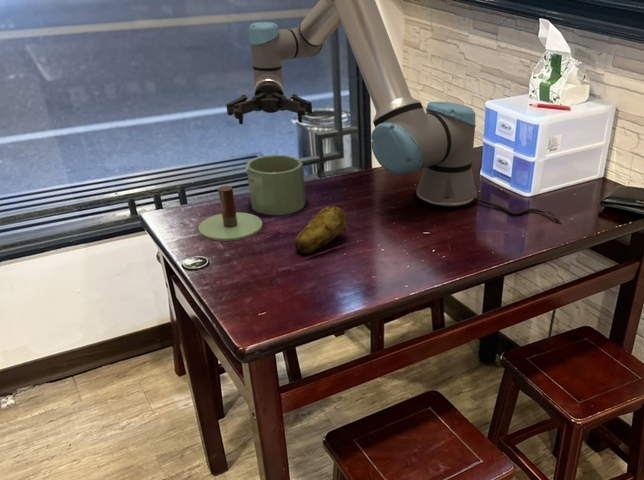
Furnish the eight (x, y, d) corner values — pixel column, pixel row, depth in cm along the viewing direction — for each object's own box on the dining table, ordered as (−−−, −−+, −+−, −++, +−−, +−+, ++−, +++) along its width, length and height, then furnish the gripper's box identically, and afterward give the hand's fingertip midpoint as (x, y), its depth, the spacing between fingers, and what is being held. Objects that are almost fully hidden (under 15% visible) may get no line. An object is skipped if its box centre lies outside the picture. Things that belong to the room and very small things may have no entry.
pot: (315, 208, 148) (312, 165, 142) (269, 221, 141) (264, 177, 135) (287, 192, 155) (283, 151, 150) (242, 204, 148) (236, 162, 142)
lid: (274, 232, 136) (269, 190, 131) (217, 249, 128) (209, 206, 123) (244, 212, 144) (238, 172, 139) (188, 227, 137) (180, 186, 131)
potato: (285, 245, 131) (282, 210, 127) (340, 232, 137) (338, 198, 133) (301, 261, 125) (298, 225, 121) (357, 247, 131) (356, 212, 127)
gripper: (318, 108, 165) (325, 132, 148) (221, 110, 160) (217, 135, 143) (316, 79, 161) (323, 99, 144) (217, 80, 156) (212, 102, 139)
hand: (270, 117), depth 143 cm, fingers open, 13 cm apart
